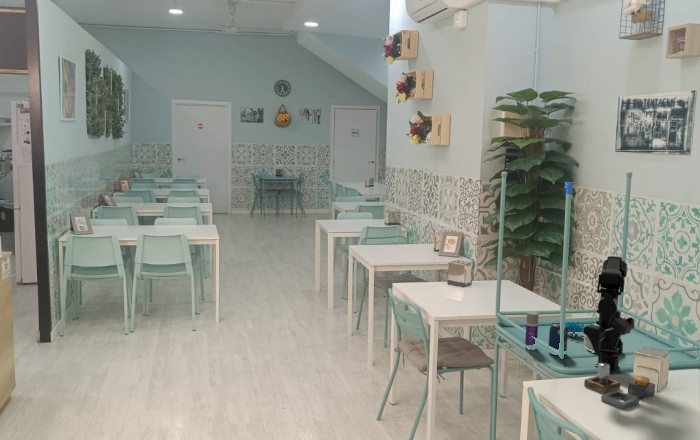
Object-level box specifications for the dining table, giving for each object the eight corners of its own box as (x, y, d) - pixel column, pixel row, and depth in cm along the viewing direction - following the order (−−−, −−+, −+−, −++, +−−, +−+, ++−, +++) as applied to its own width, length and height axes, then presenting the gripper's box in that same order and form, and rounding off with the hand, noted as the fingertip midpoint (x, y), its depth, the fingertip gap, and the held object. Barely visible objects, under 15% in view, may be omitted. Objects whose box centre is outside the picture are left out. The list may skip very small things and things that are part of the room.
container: (528, 350, 271) (530, 314, 268) (522, 347, 275) (524, 311, 273) (539, 350, 272) (541, 314, 270) (532, 346, 276) (534, 311, 274)
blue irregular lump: (588, 332, 291) (584, 320, 285) (587, 344, 288) (582, 332, 281) (562, 331, 297) (557, 319, 290) (561, 343, 294) (556, 331, 287)
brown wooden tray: (584, 385, 235) (584, 379, 235) (598, 381, 240) (599, 374, 239) (605, 394, 228) (605, 387, 228) (619, 388, 233) (620, 382, 233)
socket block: (601, 400, 223) (601, 389, 222) (634, 388, 233) (635, 377, 233) (623, 409, 216) (624, 397, 215) (657, 396, 227) (658, 385, 226)
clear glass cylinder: (603, 388, 231) (605, 367, 230) (594, 384, 234) (595, 363, 233) (610, 385, 233) (612, 365, 232) (600, 382, 236) (602, 361, 235)
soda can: (567, 357, 264) (569, 328, 262) (549, 356, 265) (550, 326, 263) (565, 351, 270) (567, 323, 269) (547, 350, 272) (549, 321, 270)
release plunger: (631, 391, 229) (632, 377, 228) (638, 388, 231) (639, 375, 231) (643, 395, 225) (644, 382, 224) (651, 392, 228) (652, 379, 227)
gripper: (612, 317, 218) (609, 363, 221) (645, 309, 229) (642, 353, 231) (583, 309, 227) (580, 353, 230) (616, 302, 238) (613, 344, 240)
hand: (605, 351), depth 232 cm, fingers open, 9 cm apart
